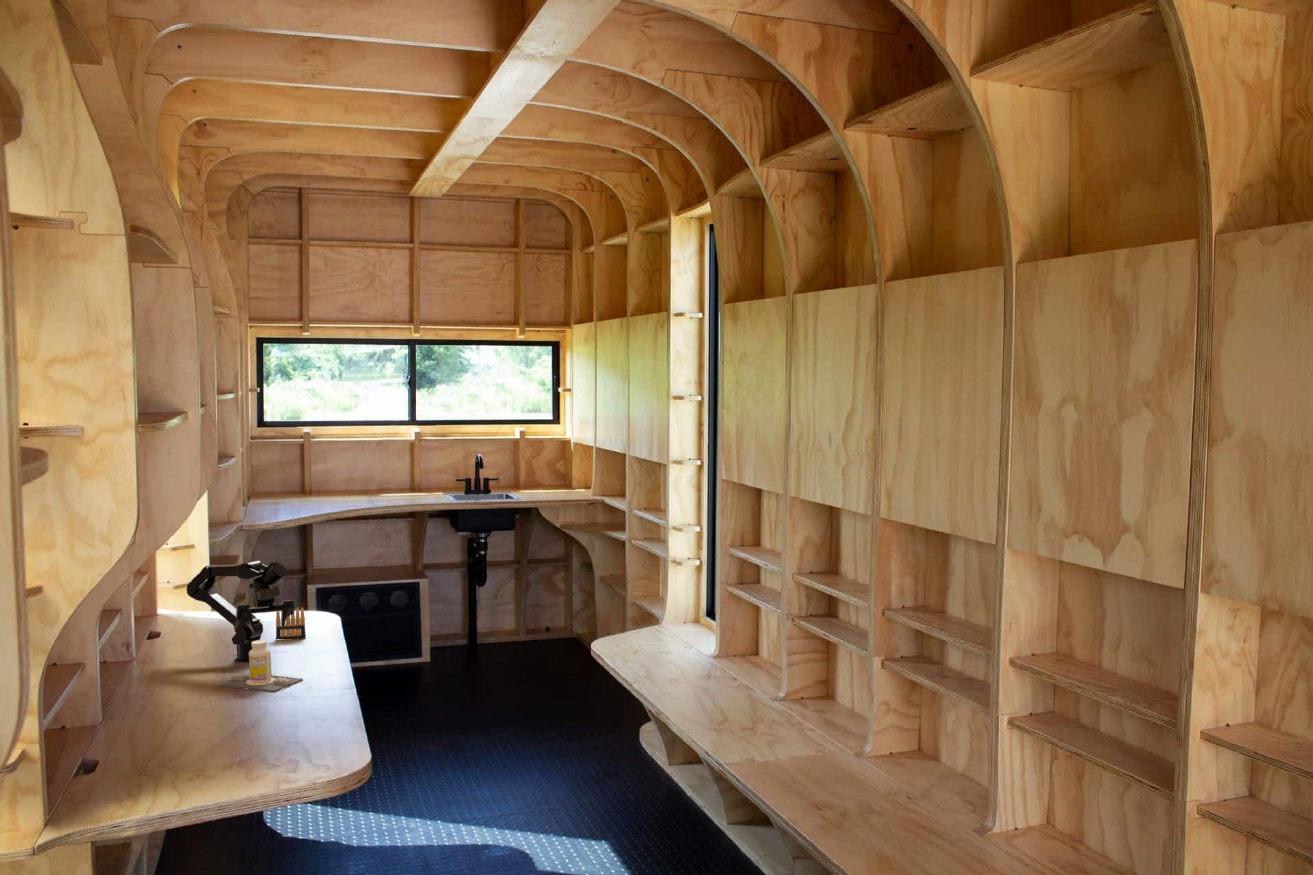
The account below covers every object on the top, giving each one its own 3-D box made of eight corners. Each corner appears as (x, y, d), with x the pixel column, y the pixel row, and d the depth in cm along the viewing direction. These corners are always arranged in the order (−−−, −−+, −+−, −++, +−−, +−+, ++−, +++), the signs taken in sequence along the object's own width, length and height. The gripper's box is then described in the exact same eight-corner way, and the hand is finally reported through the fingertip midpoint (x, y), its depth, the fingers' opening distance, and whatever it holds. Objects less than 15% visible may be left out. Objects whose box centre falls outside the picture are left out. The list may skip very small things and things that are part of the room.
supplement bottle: (260, 676, 365) (258, 638, 364) (276, 678, 363) (274, 640, 362) (245, 682, 359) (243, 643, 358) (261, 684, 356) (259, 644, 356)
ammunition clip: (305, 637, 423) (304, 606, 422) (305, 638, 421) (304, 607, 420) (276, 639, 420) (275, 608, 419) (275, 640, 418) (275, 609, 418)
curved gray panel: (218, 685, 358) (218, 679, 358) (248, 674, 371) (248, 668, 371) (274, 692, 350) (274, 685, 350) (302, 680, 364) (302, 673, 363)
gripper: (236, 581, 375) (241, 620, 366) (293, 576, 384) (299, 614, 375) (233, 600, 383) (238, 638, 374) (290, 595, 391) (296, 632, 382)
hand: (268, 630), depth 376 cm, fingers open, 9 cm apart
